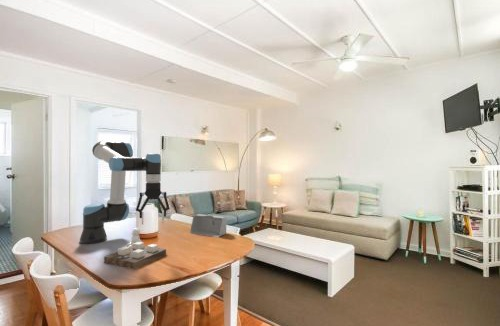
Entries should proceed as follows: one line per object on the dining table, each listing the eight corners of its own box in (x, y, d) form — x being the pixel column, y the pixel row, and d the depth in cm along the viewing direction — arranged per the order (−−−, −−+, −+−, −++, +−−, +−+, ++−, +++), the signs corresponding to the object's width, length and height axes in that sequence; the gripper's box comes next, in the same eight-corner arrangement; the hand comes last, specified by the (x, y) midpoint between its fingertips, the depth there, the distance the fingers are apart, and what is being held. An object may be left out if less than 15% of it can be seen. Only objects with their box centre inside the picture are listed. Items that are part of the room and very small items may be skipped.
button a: (117, 255, 142) (117, 248, 142) (124, 253, 146) (124, 246, 146) (123, 256, 140) (123, 249, 140) (129, 254, 144) (129, 247, 144)
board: (104, 262, 138) (104, 255, 138) (138, 249, 159) (138, 243, 159) (134, 269, 130) (134, 261, 130) (166, 254, 151) (166, 248, 151)
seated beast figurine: (126, 246, 165) (126, 226, 165) (142, 244, 169) (142, 225, 169) (126, 251, 157) (126, 230, 157) (142, 249, 160) (142, 228, 160)
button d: (146, 252, 147) (146, 245, 147) (152, 250, 151) (152, 243, 151) (152, 253, 146) (152, 246, 146) (157, 251, 149) (158, 244, 149)
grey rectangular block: (230, 232, 201) (231, 215, 202) (219, 237, 187) (219, 219, 187) (202, 228, 212) (202, 212, 212) (189, 233, 198) (189, 215, 198)
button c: (132, 249, 151) (132, 243, 151) (138, 247, 155) (138, 241, 155) (138, 250, 150) (138, 244, 150) (143, 248, 153) (143, 242, 153)
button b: (132, 258, 138) (132, 251, 138) (138, 255, 142) (138, 249, 142) (138, 259, 137) (138, 252, 137) (144, 257, 140) (144, 250, 140)
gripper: (130, 183, 141) (130, 226, 141) (175, 182, 149) (174, 223, 149) (130, 182, 148) (130, 223, 148) (173, 181, 156) (173, 220, 156)
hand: (152, 223), depth 148 cm, fingers open, 10 cm apart
